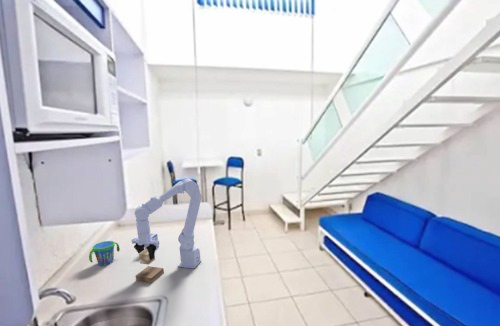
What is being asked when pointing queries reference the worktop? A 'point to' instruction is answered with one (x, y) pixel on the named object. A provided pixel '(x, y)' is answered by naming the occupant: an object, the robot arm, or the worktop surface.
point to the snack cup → (104, 252)
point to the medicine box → (153, 236)
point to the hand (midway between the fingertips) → (147, 258)
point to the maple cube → (145, 257)
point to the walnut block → (149, 274)
